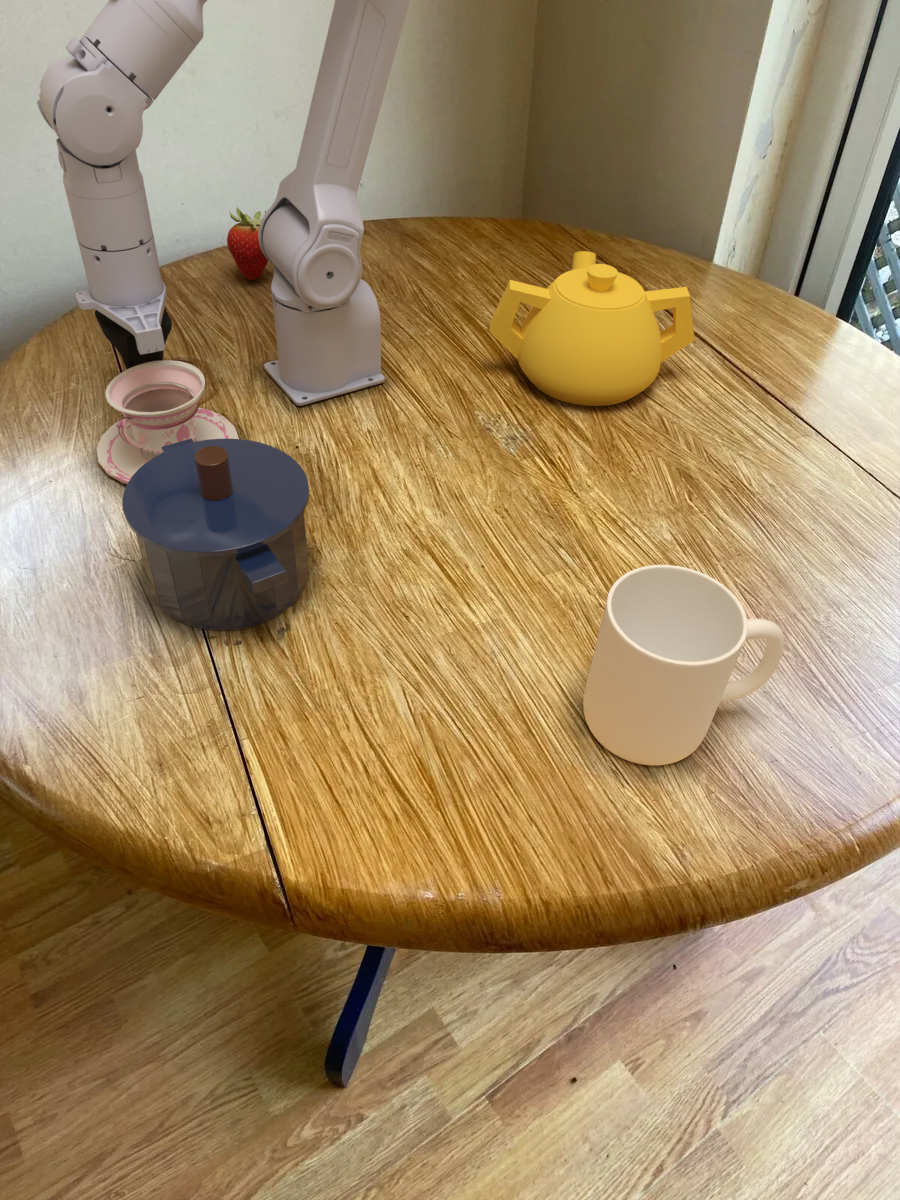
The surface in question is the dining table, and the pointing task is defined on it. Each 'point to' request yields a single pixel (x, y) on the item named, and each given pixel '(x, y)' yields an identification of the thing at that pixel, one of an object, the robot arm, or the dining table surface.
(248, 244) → the fruit
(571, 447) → the dining table surface
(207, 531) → the pot lid
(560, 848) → the dining table surface
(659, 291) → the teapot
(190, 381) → the teacup
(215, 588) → the pot
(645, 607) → the cup
